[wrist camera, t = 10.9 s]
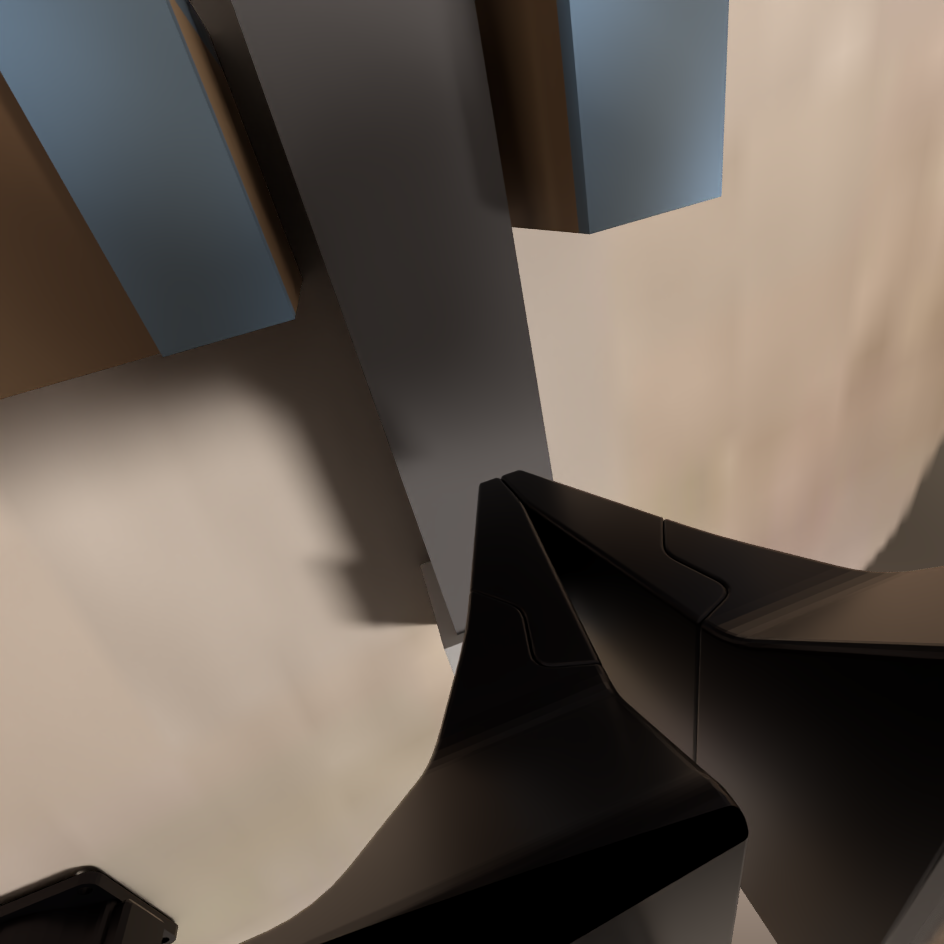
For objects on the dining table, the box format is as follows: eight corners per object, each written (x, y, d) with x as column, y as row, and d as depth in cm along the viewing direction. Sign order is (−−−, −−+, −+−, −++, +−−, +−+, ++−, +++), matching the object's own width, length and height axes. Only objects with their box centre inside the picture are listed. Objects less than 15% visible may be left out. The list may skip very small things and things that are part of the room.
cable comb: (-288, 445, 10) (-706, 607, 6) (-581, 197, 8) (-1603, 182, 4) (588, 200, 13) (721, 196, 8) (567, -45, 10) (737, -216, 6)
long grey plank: (551, 581, 19) (599, 659, 16) (442, 623, 18) (468, 712, 15) (392, -246, 8) (438, -524, 5) (132, -206, 8) (7, -489, 5)
